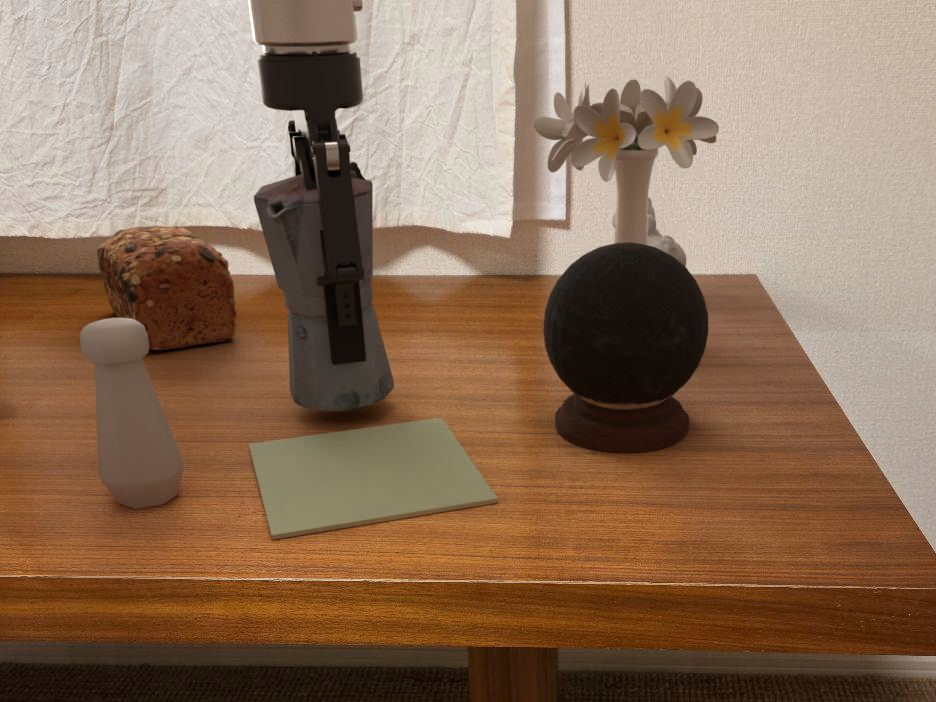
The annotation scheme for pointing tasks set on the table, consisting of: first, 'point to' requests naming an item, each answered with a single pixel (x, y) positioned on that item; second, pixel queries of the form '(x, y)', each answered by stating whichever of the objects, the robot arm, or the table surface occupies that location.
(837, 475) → the table surface
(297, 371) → the moka pot
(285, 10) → the robot arm
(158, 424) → the salt shaker
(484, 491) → the centre mat
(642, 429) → the black ball on stand
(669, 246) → the dog figurine
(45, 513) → the table surface
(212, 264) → the bread
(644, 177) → the flower vase
